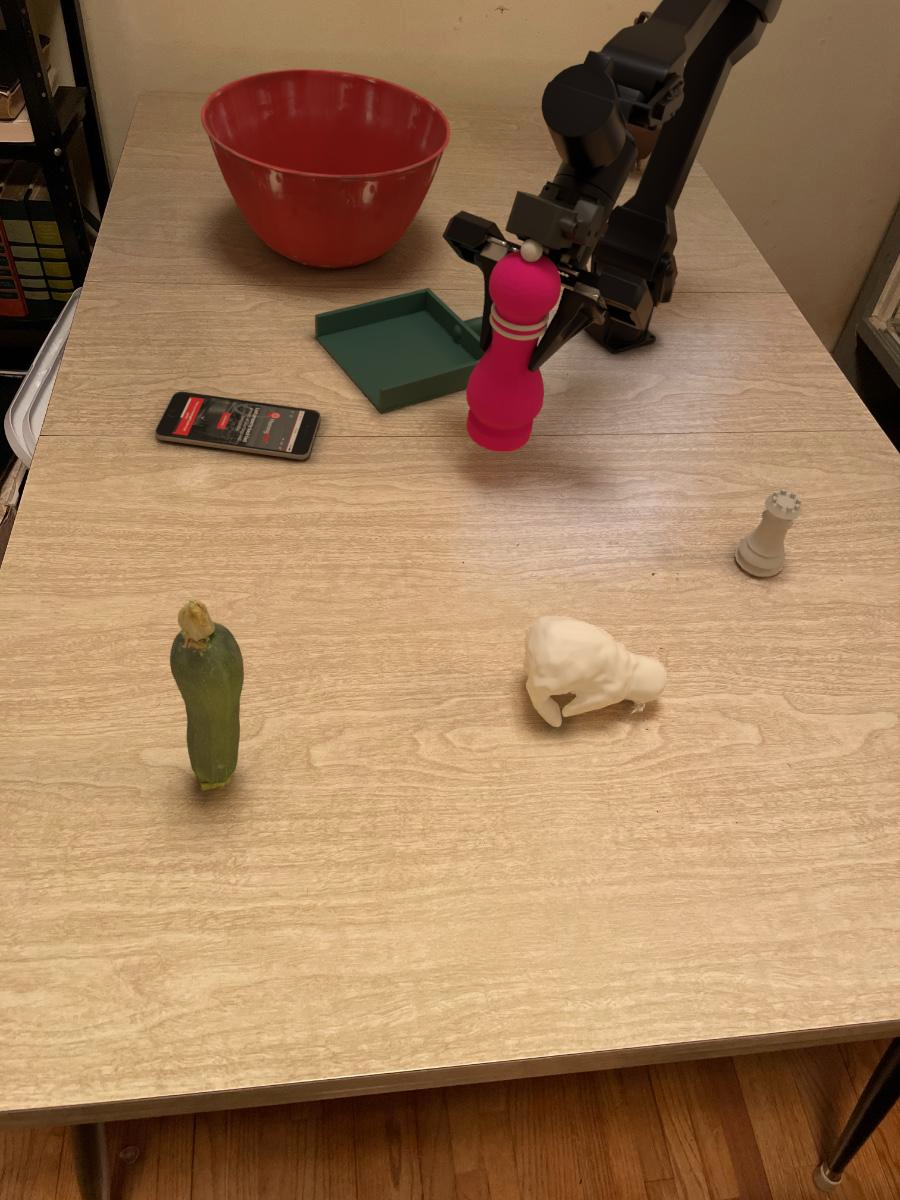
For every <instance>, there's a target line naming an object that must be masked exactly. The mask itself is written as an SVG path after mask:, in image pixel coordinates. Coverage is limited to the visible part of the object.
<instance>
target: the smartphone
mask: <svg viewBox="0 0 900 1200" xmlns="http://www.w3.org/2000/svg"><path fill="white" fill-rule="evenodd" d="M321 417H322V416H321V413H320V412H319V411H318V410H316V409H309V408H302V407H296V406H289V405H288V406H287V405H283V404H274V403H267V402H266V403H265V402H260V401H252V400H245V399H240V398H239V399H237V398H232V397H231V398H230V397H224V396H217V395H211V394H210V395H209V394H203V393H196V392H190V391H189V392H188V391H177V392H175V393H174V394H173V395H172V397H171V399H170V401H169V403H168V404H167V406H166V408H165V411H164V412H163V414H162V417H161V418H160V421H159V422H158V424H157V427H156V428H155V431H154V433H155V437H156V438H157V439H158V440H159V441H160V440H161V441H164V442H172V443H179V444H186V445H194V446H201V447H207V448H215V449H222V450H228V451H236V452H244V453H252V454H258V455H265V456H273V457H279V458H285V459H286V458H287V459H292V460H293V459H294V460H300V461H302V460H306V459H307V458H308V457H309V456H310V454H311V451H312V449H313V444H314V441H315V438H316V436H317V431H318V429H319V425H320V423H321Z"/></svg>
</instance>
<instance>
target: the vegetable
mask: <svg viewBox="0 0 900 1200" xmlns="http://www.w3.org/2000/svg"><path fill="white" fill-rule="evenodd" d="M188 601H189V602H188V603H184V605H183V606H182V607H181V608H180V609H179V611H178V614H177V624H178V626H179V627H180V629H181V630H180V631H179V632H178V633H177V634H176V636H175V637H174V639H173V641H172V644H171V648H170V654H169V666H170V672H171V674H172V677H173V679H174V681H175V684H176V686H177V688H178V690H179V692H180V695H181V697H182V700H183V702H184V708H185V713H186V748H187V754H188V757H189V762H190V767H191V770H192V772H193V774H194V775H195V777H196V779H197V781H199V785H200V790H201V791H209V790H213V789H216V788H223V787H225V786H226V785H230V784H231V780H232V776H233V775H234V773H235V772H236V769H237V765H238V760H239V747H240V738H241V721H240V711H241V697H242V693H243V692H242V691H243V686H244V682H245V681H244V680H245V669H244V659H243V656H242V651H241V647H240V645H239V643H238V640H236V638H235V636H234V634H233V633H232V632H231V630H230V629H229V628H227V626H224V625H223V624H221V623H218V622H215V621H213V619H212V618H211V616H210V614H209V611H208V607H207V606H206V604H205V603H202V602H201V601H200V600H199V601H198V600H197V599H196V598H195V599H194V598H189V600H188Z"/></svg>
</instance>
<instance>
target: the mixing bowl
mask: <svg viewBox="0 0 900 1200" xmlns="http://www.w3.org/2000/svg"><path fill="white" fill-rule="evenodd" d="M200 121H201V125H202V128H203V130H204V131H205V133H206V134H207V137H208V139H209V142H210V145H211V148H212V150H213V154H214V157H215V159H216V162H217V165H218V168H219V170H220V172H221V175H222V177H223V180H224V182H225V184H226V186H227V188H228V190H229V192H230V194H231V196H232V198H233V200H234V202H235V204H236V206H237V207H238V209H239V211H240V213H241V214H242V216H243V217H244V219H245V220H246V222H247V223H248V225H249V227H250V228H251V230H252V231H253V233H254V234H255V235H256V236H257V237H258V238H259V239H260V240H261V241H262V242H263V243H264V244H265V245H266V246H267V247H269V248H270V249H272V250H273V251H274V252H276V253H278V254H280V255H281V256H283V257H286V258H287V259H288V260H291V261H293V262H294V263H297V264H300V265H303V266H307V267H311V268H317V269H325V270H326V269H327V270H328V269H329V270H334V269H335V270H336V269H337V270H338V269H346V268H347V269H348V268H353V267H357V266H359V265H363V264H365V263H366V262H369V261H371V260H374V259H376V258H378V257H380V256H382V255H384V254H385V253H386V252H388V251H389V250H391V249H392V248H393V247H394V246H395V245H396V244H397V243H398V242H399V241H400V240H401V238H402V237H403V236H404V235H405V233H406V231H407V230H408V229H409V227H410V225H411V224H412V222H413V221H414V219H415V217H416V215H417V214H418V212H419V211H420V209H421V206H422V205H423V203H424V201H425V199H426V196H427V195H428V192H429V190H430V188H431V186H432V184H433V181H434V179H435V176H436V174H437V171H438V168H439V166H440V163H441V159H442V156H443V154H444V151H445V149H446V148H447V147H448V146H449V145H448V144H449V142H450V140H451V126H450V123H449V121H448V118H447V116H446V115H445V114H444V113H443V111H442V110H441V109H440V108H439V107H438V106H436V105H435V104H434V103H433V102H432V101H430V100H429V99H427V98H426V97H425V96H422V95H421V94H420V93H417V92H416V91H415V90H411V89H409V88H407V87H405V86H402V85H400V84H397V83H394V82H391V81H389V80H385V79H382V78H379V77H374V76H370V75H365V74H360V73H354V72H349V71H341V70H332V69H331V70H330V69H319V68H318V69H316V68H315V69H313V68H298V69H296V68H295V69H294V68H293V69H281V70H280V69H279V70H272V71H266V72H260V73H256V74H252V75H251V74H250V75H248V76H244V77H241V78H238V79H236V80H233V81H230V82H228V83H226V84H224V85H222V86H221V87H219V88H217V89H216V90H215V91H213V92H212V93H211V94H210V95H209V96H208V97H207V98H206V99H205V101H204V103H203V105H202V108H201V112H200Z"/></svg>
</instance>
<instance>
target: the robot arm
mask: <svg viewBox="0 0 900 1200" xmlns="http://www.w3.org/2000/svg"><path fill="white" fill-rule="evenodd" d="M782 3H783V0H661V1H660V2H659V3H658V4H657V6H656V8H655V9H654V10H653V12H651V13H652V14H651V16H650V17H649V18H648V19H647V18H646V19H645V21H644V23H641V24H637V25H634V24H633V25H630V27H629V26H626V27H622V28H621V29H620V30H619V31H617V33H616V34H614V35H613V37H611V39H609V40H608V41H607V42H606V43H605V44H604V45H603V46H602V47H601V49H600V50H599V51H595V50H591V49H590V50H589V51H588V52H587V55H586V56H585V59H584V61H583V63H578V64H574V65H571V66H569V67H566V68H565V69H563V70H561V71H560V72H559V73H558V74H556V75H555V76H554V78H552V79H551V80H550V81H548V82H547V84H546V87H545V88H544V91H543V93H542V98H541V105H540V106H541V114H542V118H543V120H544V122H545V125H546V127H547V129H548V133H549V134H550V137H551V140H552V141H553V144H554V147H555V149H556V151H557V154H558V156H559V157H560V159H561V163H560V165H559V166H558V169H557V171H556V174H555V176H554V178H553V180H552V181H549V180H547V181H546V183H545V184H544V185H543V186H542V189H541V191H540V193H539V194H538V195H536V194H533V193H530V192H525V191H521V190H516V193H515V197H514V200H513V204H512V207H511V209H510V213H509V216H508V219H507V222H506V226H505V228H504V231H505V232H507V233H509V234H511V235H515V236H516V238H517V240H519V241H521V242H523V243H524V242H525V241H526V240H528V239H535V240H537V241H538V243H539V244H541V245H542V249H543V251H542V254H543V255H544V256H546V257H547V258H549V259H550V260H551V261H552V262H553V263H554V264H555V266H556V268H557V270H558V272H559V275H560V279H561V287H563V289H562V292H561V295H560V298H559V303H558V306H557V309H556V312H555V313H554V315H553V316H552V318H551V320H550V321H549V324H548V325H547V329H546V331H545V332H544V333H543V335H542V336H541V338H540V340H539V341H538V343H537V347H536V349H535V351H534V353H533V356H532V358H531V361H530V363H529V366H528V370H529V371H530V372H535V371H536V370H537V369H538V368H539V369H540V368H541V367H542V366H543V365H544V364H545V363H546V362H547V361H548V360H549V359H551V358H552V357H553V356H554V355H555V354H556V353H557V352H558V351H559V350H560V349H561V348H562V347H563V346H564V345H566V344H567V343H568V342H569V341H570V340H572V339H573V338H574V337H576V336H577V335H578V334H579V333H581V332H583V331H584V330H586V331H587V332H588V333H589V334H590V335H591V336H593V338H595V339H596V340H597V341H598V342H600V344H602V345H603V346H604V347H606V348H607V350H609V351H610V352H611V353H612V354H619V353H623V352H626V351H629V350H632V349H635V348H639V347H642V346H646V345H650V344H652V343H655V342H656V340H657V336H655V335H654V334H653V333H652V332H651V331H650V330H649V328H650V324H651V320H652V317H653V315H654V310H655V308H658V307H659V305H661V304H669V303H670V302H671V300H672V297H673V294H674V290H675V286H676V281H677V277H678V275H679V272H678V267H677V262H676V261H677V260H676V257H675V256H676V255H674V251H675V249H676V247H677V244H678V232H677V225H676V217H675V210H676V207H677V205H678V202H679V199H680V198H681V195H682V192H683V191H684V187H685V185H686V182H687V180H688V177H689V175H690V172H691V169H692V168H693V165H694V162H695V160H696V158H697V156H698V153H699V151H700V148H701V145H702V143H703V140H704V138H705V136H706V133H707V130H708V128H709V126H710V123H711V121H712V118H713V116H714V113H715V111H716V108H717V105H718V103H719V100H720V98H721V96H722V94H723V90H724V89H725V86H726V84H727V81H728V78H729V76H730V74H731V72H732V69H733V68H734V66H735V65H736V64H738V63H739V62H740V61H741V60H742V59H743V58H745V57H746V56H747V55H748V54H749V53H751V52H752V51H753V50H754V49H755V48H756V47H757V46H758V45H759V44H760V41H761V40H762V37H763V34H764V33H765V31H766V28H767V26H768V25H769V24H770V25H771V24H772V23H773V22H774V20H775V19H776V17H777V15H778V13H779V10H780V8H781V6H782ZM627 124H630V125H633V126H636V127H639V128H642V129H645V130H648V131H653V132H654V131H656V130H657V129H659V128H660V127H661V128H660V131H659V134H658V136H657V139H656V141H655V144H654V147H653V149H652V152H651V153H650V155H649V156H648V160H647V162H646V164H645V167H644V169H643V171H642V175H641V178H640V180H639V183H638V186H637V188H636V190H635V193H634V195H632V196H631V197H630V198H629V199H628V200H627V201H625V202H623V204H621V205H620V204H617V205H616V203H617V201H618V198H619V197H620V195H621V192H622V190H623V189H624V186H625V184H626V182H627V180H628V178H629V175H630V173H631V172H633V171H634V170H635V168H636V164H637V162H636V159H637V156H638V152H637V148H636V144H635V141H634V138H633V136H632V135H631V133H630V132H629V131H628V130H627V129H626V125H627ZM615 205H616V206H615ZM441 236H442V238H443V239H444V240H445V242H446V243H447V244H448V245H449V246H450V248H451V249H452V250H453V252H454V253H455V254H456V255H457V256H458V258H460V259H461V260H462V261H464V262H466V263H469V264H471V265H474V266H475V267H477V268H478V269H479V270H480V271H481V272H482V275H483V286H484V288H483V289H484V292H483V293H484V294H483V296H484V297H483V300H484V301H483V308H482V309H483V310H482V316H483V317H482V326H481V335H480V336H479V337H480V343H479V349H480V350H481V351H483V352H486V351H487V350H488V348H489V346H490V344H491V342H492V338H493V333H494V328H493V327H492V325H491V323H490V314H491V307H492V304H493V301H492V299H491V296H490V292H489V281H490V276H491V273H492V271H493V269H494V267H495V265H496V264H497V262H498V261H499V260H500V259H502V258H503V257H504V256H505V255H507V254H509V253H512V252H516V251H521V246H522V244H518V243H515V242H513V241H510V240H508V239H506V238H505V236H504V234H503V233H502V231H501V230H500V228H499V226H498V225H497V224H496V222H494V221H491V220H489V219H486V218H484V217H481V216H479V215H475V214H474V213H470V212H467V211H465V210H461V211H459V212H457V213H456V214H454V215H453V216H452V217H450V218H449V220H448V223H447V225H446V227H445V228H444V231H443V233H442V235H441ZM589 261H590V266H589V268H590V269H588V266H587V265H588V263H589ZM566 275H567V276H566Z"/></svg>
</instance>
